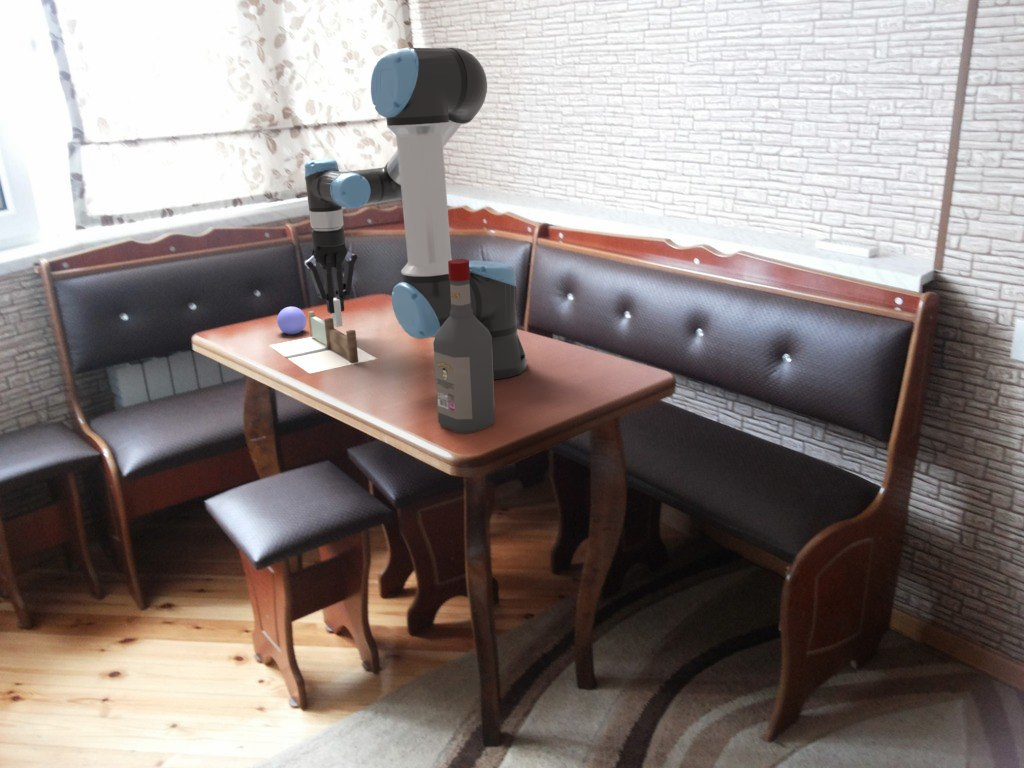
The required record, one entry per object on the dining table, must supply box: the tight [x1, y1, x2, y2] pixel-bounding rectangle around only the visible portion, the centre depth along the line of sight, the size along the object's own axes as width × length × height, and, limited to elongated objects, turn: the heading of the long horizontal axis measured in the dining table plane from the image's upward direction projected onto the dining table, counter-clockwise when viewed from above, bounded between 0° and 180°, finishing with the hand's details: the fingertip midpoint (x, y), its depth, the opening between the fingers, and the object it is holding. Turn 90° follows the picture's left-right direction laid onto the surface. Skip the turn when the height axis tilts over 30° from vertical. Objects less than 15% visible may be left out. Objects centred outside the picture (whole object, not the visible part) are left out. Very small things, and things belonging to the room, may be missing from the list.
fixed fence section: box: [323, 317, 358, 364], centre depth 197 cm, size 14×2×7 cm, turn 34°
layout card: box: [268, 336, 378, 374], centre depth 201 cm, size 26×16×1 cm, turn 34°
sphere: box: [276, 306, 307, 336], centre depth 216 cm, size 7×7×7 cm
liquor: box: [433, 258, 496, 434], centre depth 154 cm, size 9×9×30 cm
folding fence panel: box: [307, 310, 327, 345], centre depth 207 cm, size 10×2×6 cm, turn 34°
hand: (337, 325), depth 211 cm, fingers closed
